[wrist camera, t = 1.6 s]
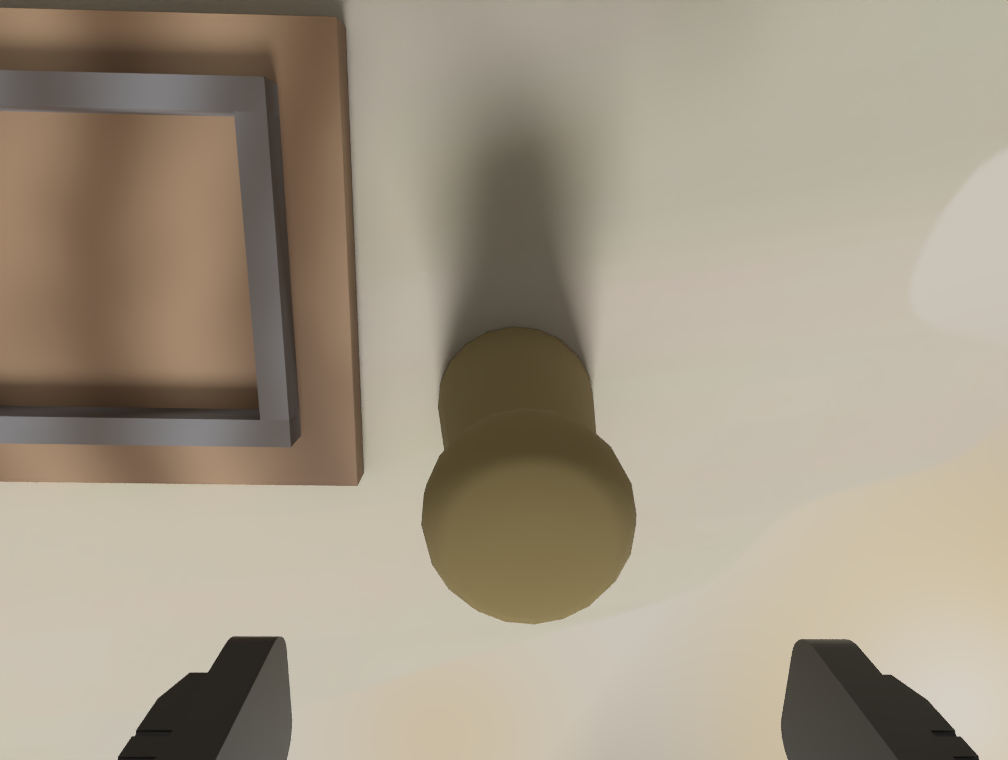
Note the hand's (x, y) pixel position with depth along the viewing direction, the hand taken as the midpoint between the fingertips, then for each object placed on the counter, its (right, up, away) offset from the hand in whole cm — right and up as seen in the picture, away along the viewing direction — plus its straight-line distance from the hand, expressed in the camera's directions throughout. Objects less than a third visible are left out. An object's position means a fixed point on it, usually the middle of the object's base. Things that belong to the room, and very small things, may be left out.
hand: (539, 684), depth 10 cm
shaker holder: (-14, +9, +13) cm, 21 cm away
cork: (0, +4, +15) cm, 15 cm away
